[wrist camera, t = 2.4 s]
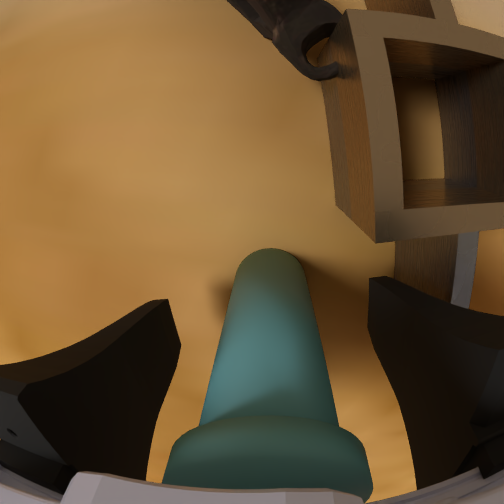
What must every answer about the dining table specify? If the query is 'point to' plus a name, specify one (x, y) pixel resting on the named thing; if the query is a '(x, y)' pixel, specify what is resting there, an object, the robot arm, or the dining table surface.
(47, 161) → the dining table surface
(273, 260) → the pin
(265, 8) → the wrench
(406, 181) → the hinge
